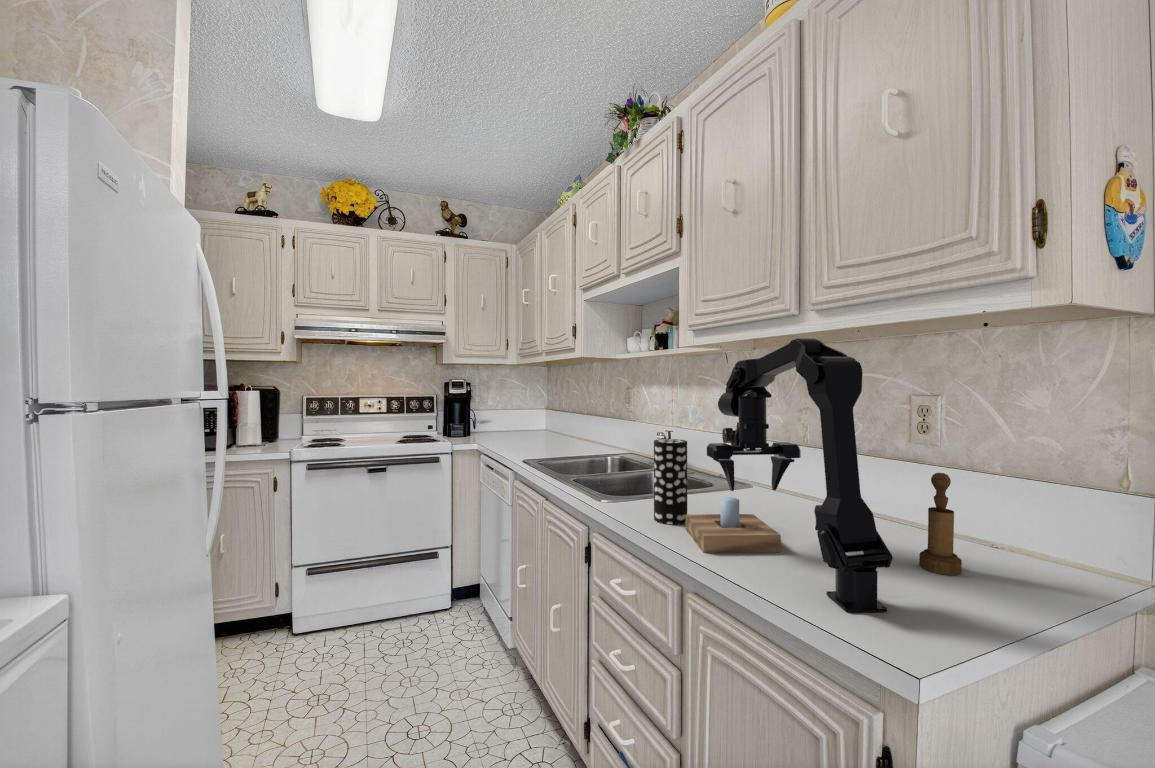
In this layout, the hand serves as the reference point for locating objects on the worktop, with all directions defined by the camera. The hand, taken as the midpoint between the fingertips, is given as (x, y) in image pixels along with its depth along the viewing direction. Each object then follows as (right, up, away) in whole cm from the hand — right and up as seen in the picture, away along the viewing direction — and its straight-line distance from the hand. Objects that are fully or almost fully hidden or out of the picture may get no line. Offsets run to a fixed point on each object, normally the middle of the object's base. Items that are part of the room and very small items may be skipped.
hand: (753, 490), depth 111 cm
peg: (-4, -12, +3) cm, 13 cm away
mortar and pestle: (+30, -12, -15) cm, 36 cm away
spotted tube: (-15, -12, +18) cm, 26 cm away
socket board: (-4, -12, +3) cm, 13 cm away
